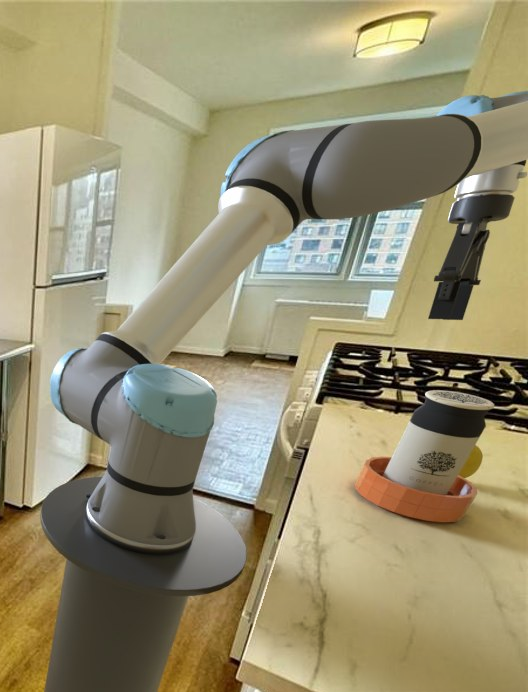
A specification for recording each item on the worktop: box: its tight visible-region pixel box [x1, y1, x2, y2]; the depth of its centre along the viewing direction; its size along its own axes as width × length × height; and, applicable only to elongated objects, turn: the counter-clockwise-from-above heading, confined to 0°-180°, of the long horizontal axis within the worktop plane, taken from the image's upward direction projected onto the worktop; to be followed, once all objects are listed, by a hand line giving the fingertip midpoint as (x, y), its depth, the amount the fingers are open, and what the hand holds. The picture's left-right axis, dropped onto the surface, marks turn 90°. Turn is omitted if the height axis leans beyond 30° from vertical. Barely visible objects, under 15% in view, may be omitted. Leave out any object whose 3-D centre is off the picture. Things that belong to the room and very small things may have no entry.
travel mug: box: [382, 389, 496, 495], centre depth 77 cm, size 8×8×18 cm
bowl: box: [354, 456, 479, 523], centre depth 80 cm, size 14×14×5 cm
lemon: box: [458, 444, 484, 479], centre depth 86 cm, size 6×6×8 cm
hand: (445, 319), depth 92 cm, fingers open, 13 cm apart
